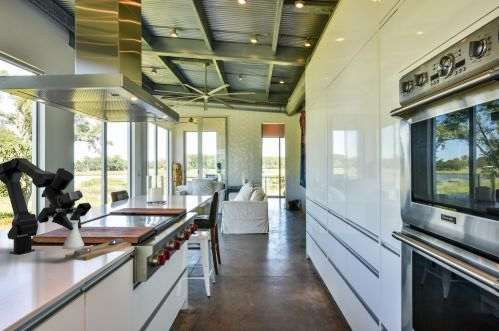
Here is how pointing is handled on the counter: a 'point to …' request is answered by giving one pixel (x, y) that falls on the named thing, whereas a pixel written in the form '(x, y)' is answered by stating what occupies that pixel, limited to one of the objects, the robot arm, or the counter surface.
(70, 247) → the flask
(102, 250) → the tan board
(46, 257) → the counter surface
